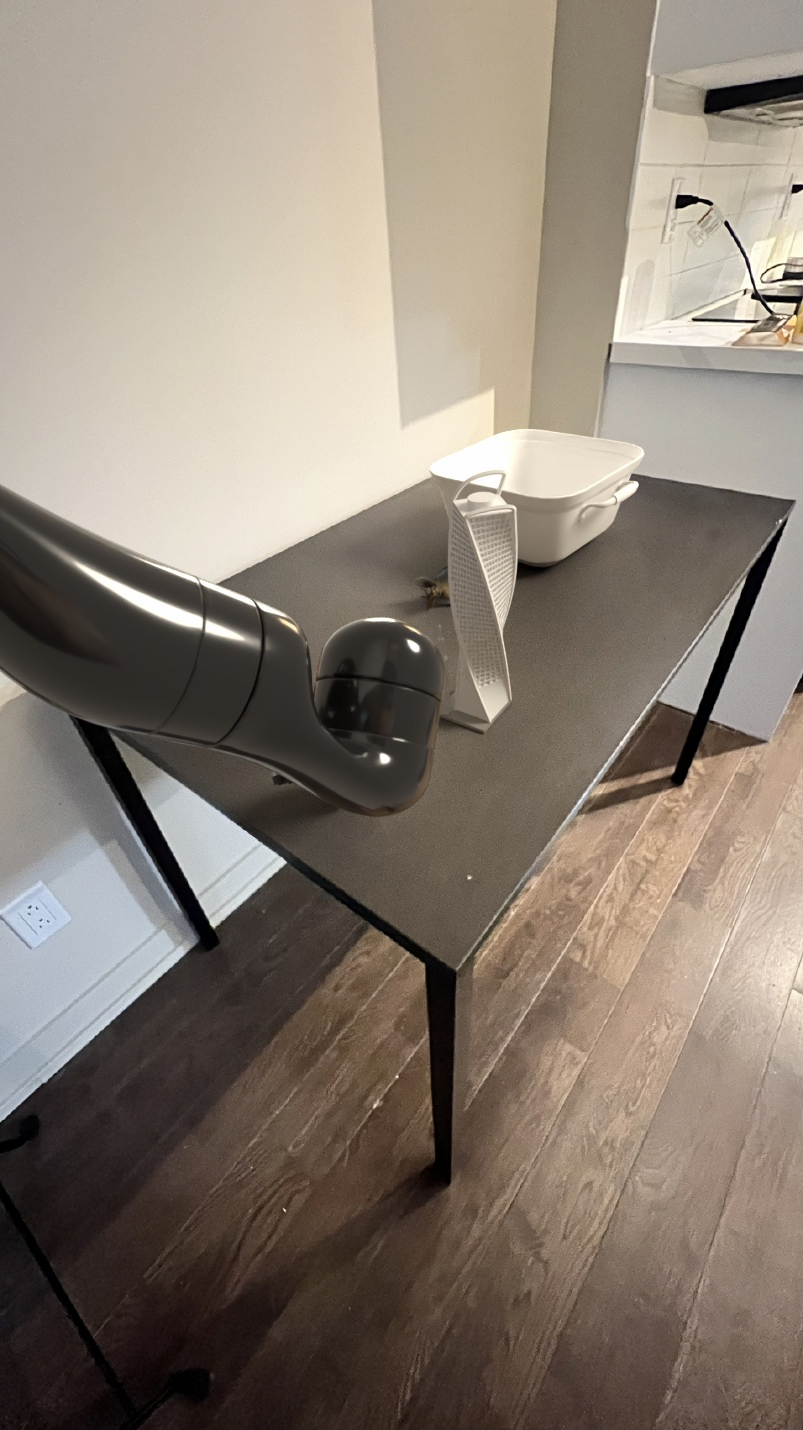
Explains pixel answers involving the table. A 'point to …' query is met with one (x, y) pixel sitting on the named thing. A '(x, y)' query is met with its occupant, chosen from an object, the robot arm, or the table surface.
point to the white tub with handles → (547, 486)
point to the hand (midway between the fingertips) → (336, 758)
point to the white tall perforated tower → (480, 603)
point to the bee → (435, 586)
